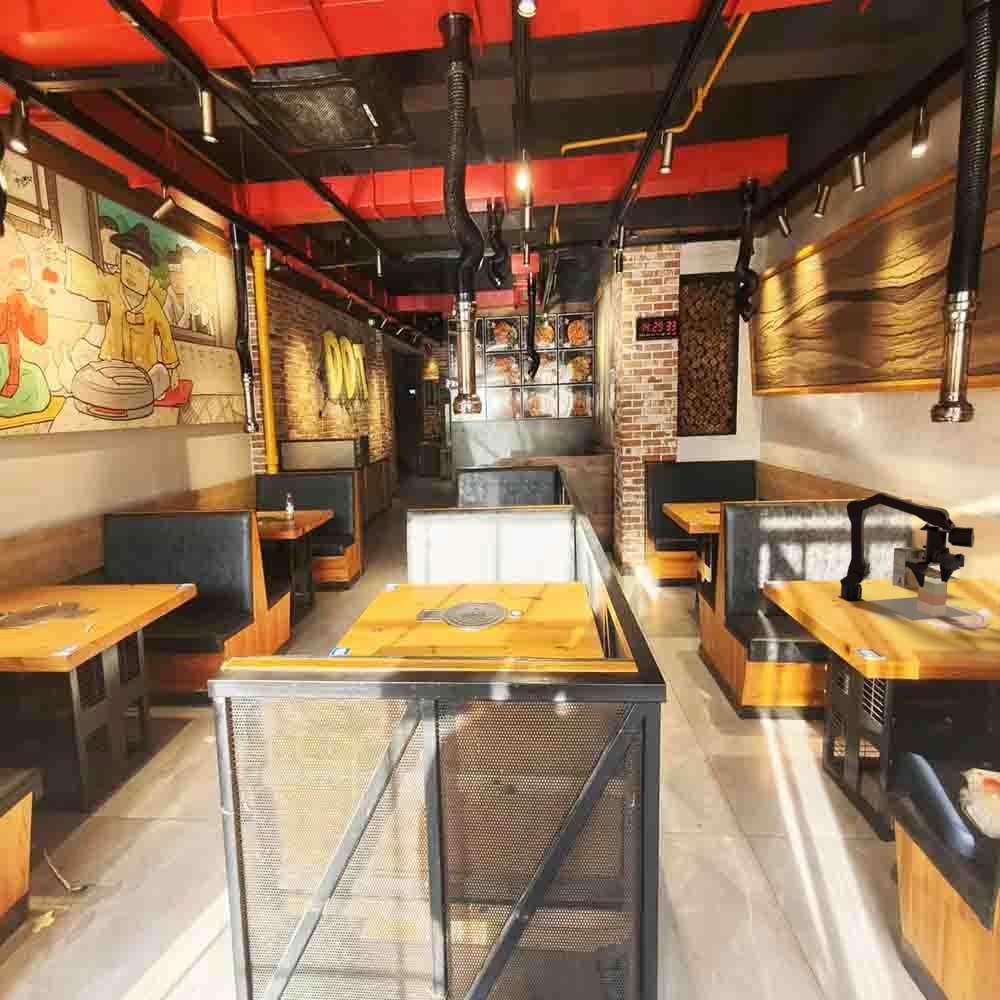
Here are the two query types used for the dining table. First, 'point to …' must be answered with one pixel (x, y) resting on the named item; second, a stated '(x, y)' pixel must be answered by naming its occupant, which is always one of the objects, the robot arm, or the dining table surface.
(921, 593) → the terracotta brick
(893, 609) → the baseplate
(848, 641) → the dining table surface
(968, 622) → the dining table surface
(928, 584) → the sage brick
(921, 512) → the robot arm
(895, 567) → the coffee box
